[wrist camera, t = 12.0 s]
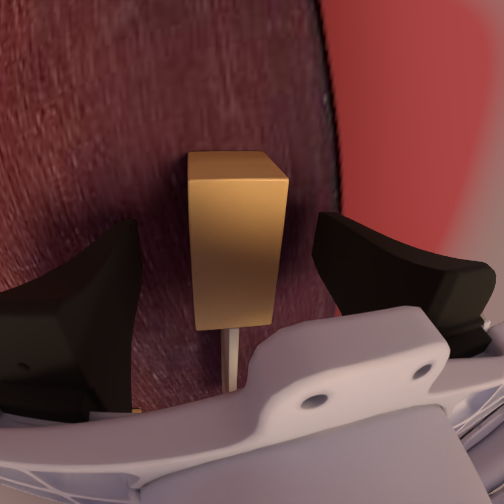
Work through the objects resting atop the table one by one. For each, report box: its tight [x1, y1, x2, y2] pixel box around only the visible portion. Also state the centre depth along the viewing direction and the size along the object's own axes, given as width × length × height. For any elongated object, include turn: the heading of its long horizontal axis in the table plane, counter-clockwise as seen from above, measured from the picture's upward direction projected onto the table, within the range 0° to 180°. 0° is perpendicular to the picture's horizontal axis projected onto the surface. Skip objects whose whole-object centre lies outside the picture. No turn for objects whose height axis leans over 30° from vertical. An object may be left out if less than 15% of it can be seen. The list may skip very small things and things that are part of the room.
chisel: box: [188, 151, 289, 394], centre depth 14 cm, size 15×3×4 cm, turn 177°
